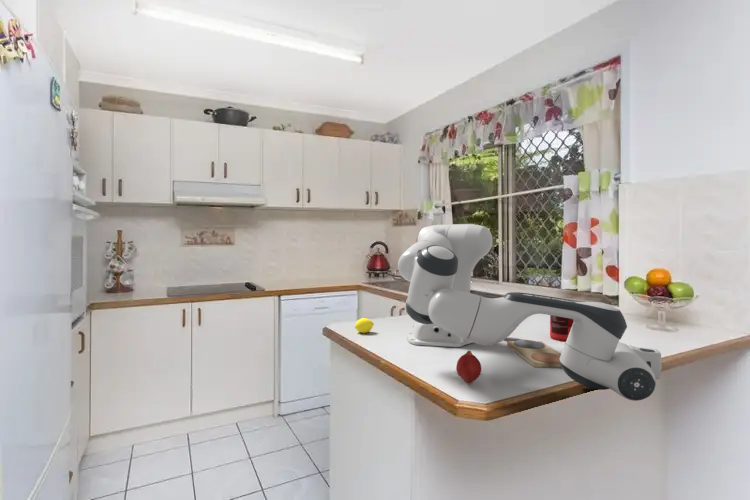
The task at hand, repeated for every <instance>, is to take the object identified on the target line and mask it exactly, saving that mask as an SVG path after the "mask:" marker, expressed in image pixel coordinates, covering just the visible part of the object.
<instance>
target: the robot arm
mask: <svg viewBox="0 0 750 500" xmlns="http://www.w3.org/2000/svg"><path fill="white" fill-rule="evenodd" d="M492 247H493V235H492V232H491V231H490V230H489V227H487V226H483V225H479V224H473V223H458V224H457V223H454V224H453V223H451V224H449V223H447V224H433V225H432V224H431V225H428V226H424V227H423V228H421V230H420V231H419V233H418V235H417V241H416V242H415V243H413V244H412V245H410V246H409V247H408V248H407V249H406V250H405V251H404V252H402V254H401V256H400V257H399V259H398V262H397V269H398V272H399V274H400V275H401V277H402V278H403V279H404V280H406V281H407V282H410V283H409V287H408V293H407V297H406V300H405V311H406V314H407V315H408V316H409V317H410V318H411V319H412V320H413V321H414V325H413V330H412V331H410V332H408V333H407V334H406V341H407V342H408V343H410V344H411V345H415V346H430V347H431V346H432V347H448V348H461V347H463V346H466V345H469V344H473V343H475V344H479V345H483V346H489V347H490V346H493V345H498V344H499V343H501V342H503V341H505V340H506V339H507V338H508V337H509V336H511V334H512V333H513V332H514V331H515V330H516V329H517V327H519V326H520V324H522V322H524V321H525V320H526V319H528V318H529V317H531V316H533V315H548V316H550V315H553V316H559V317H565V318H571V319H573V325H572V328H571V330H570V333H569V335H568V338H567V341H566V342H564V345H563V348H562V351H561V352H560V353H561V356H560V359H559V362H560V365H561V367H560V368H562V369H563V371H564V372H565V374H566V375H567V376H568V377H569V378H570V379H571V380H572V381H575V382H576V383H578V384H580V385H582V386H584V387H587V388H589V389H594V390H597V391H599V390H602V391H603V390H604V391H605V390H611V391H613V392H614V393H616V394H618V395H619V396H621V397H622V398H624V399H626V400H629V401H634V402H635V401H636V402H637V401H638V402H639V401H643V400H646V399H647V398H649V397H651V395H652V394H653V393H654V392H655V389H656V386H657V381H656V380H659V379H661V374H662V365H663V364H662V354H661V352H660V351H659V350H658V349H655V348H647V347H638V346H637V347H636V346H633V345H631V344H630V345H628V344H627V343H624V342H620V340H621V339H622V338H623V335H624V334H625V331H626V330H627V328H628V326H627V321H626V319H625V317H624V315H623V313H622V312H621V310H620V309H618V308H616V307H615V306H613V305H611V304H608V303H604V302H599V301H598V302H597V301H583V300H574V299H568V298H561V297H555V296H554V297H553V296H549V295H548V296H547V295H542V294H535V293H529V292H527V293H526V292H521V291H519V292H518V291H516V292H515V291H514V292H513V291H511V292H507V293H506V294H505V295H503V296H501V297H495V298H489V297H485V296H482V295H481V296H480V295H478V294H475V293H472V292H471V279H472V274H473V272H474V269H475V267H476V266H477V264H478V263H479V261H481V259H483V258H484V257H486V256H487V255H488V254H489V253H490V251H491V249H492Z"/></svg>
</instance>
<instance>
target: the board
mask: <svg viewBox="0 0 750 500" xmlns="http://www.w3.org/2000/svg"><path fill="white" fill-rule="evenodd" d="M506 342H507V343H506V345H507V346H508V347H509V348H510V349H512V350H513V351H514V352H515V353H517V354H518V356H520V357H521V358H523V360H525V361H527V363H529V364H530V365H531V366H532V367H534V368H562V367H561V365H560V362H559V359H560V356H561V353H562V352H559V351H558V350H556V349H554V348H553V347H551V346H550V345H548V344H546V343H544V342H543V341H542V340H541V341H538V340H537V341H536V340H530V339H519V340H515V341H513V340H511V341H509V340H507V341H506Z"/></svg>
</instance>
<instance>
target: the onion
mask: <svg viewBox="0 0 750 500" xmlns="http://www.w3.org/2000/svg"><path fill="white" fill-rule="evenodd" d="M458 358H459V359H458V360H457V362H456V367H455V368H456V373H457V374H458V376H459V378H461V379H462V381H464V382H465V383H466V384H469V385H470V384H473V382H475V380H477V379H479V377H480V375H481V373H482V364H481V362H480V360H479V358H477V357H476V355H474V354H473V352H472V350H467V352H466V353H464V354H462V355H461V356H460V357H458Z"/></svg>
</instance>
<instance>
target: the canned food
mask: <svg viewBox="0 0 750 500" xmlns="http://www.w3.org/2000/svg"><path fill="white" fill-rule="evenodd" d="M549 317H550V318H549V336H550V339H552V340H553V341H558V342H564V343H565V342H566V341H567V338H568V335H569V333H570V330H571V328H572V325H573V319H571V318H565V317H559V316H553V315H549Z"/></svg>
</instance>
